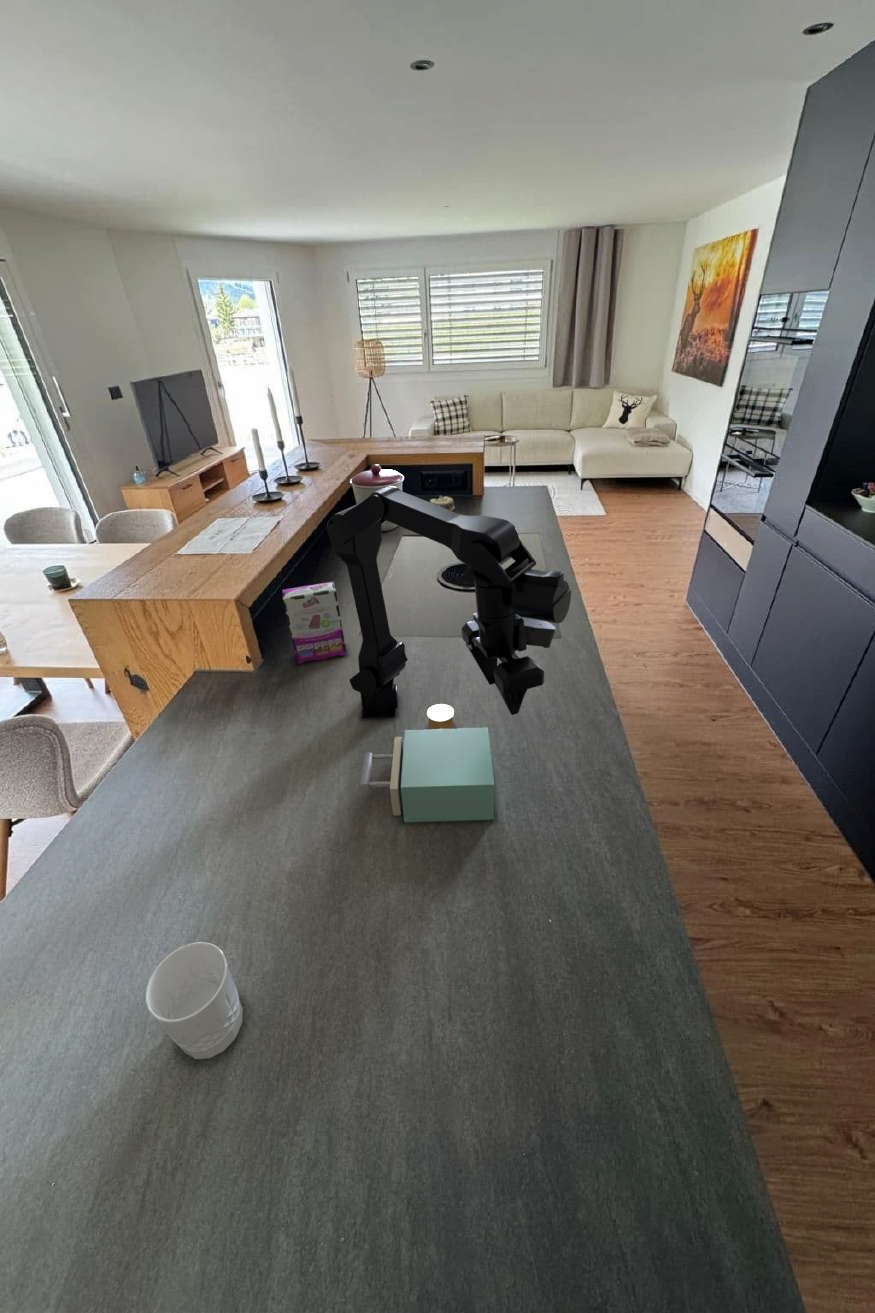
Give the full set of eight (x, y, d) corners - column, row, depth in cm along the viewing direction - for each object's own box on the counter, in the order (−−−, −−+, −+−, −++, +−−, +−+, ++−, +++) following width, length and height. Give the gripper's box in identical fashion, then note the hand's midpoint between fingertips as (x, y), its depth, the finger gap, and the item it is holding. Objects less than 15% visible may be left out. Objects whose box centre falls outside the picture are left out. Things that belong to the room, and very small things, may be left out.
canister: (417, 522, 195) (413, 460, 184) (387, 539, 183) (381, 474, 171) (376, 514, 203) (370, 455, 192) (345, 530, 191) (336, 468, 179)
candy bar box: (344, 644, 129) (334, 580, 120) (347, 655, 125) (337, 590, 116) (295, 653, 126) (281, 588, 117) (297, 665, 122) (282, 598, 113)
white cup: (256, 986, 65) (235, 939, 60) (238, 1064, 59) (213, 1019, 53) (189, 990, 65) (162, 944, 60) (163, 1069, 59) (131, 1024, 53)
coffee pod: (427, 738, 100) (426, 721, 98) (428, 721, 105) (427, 704, 102) (454, 737, 100) (454, 720, 98) (454, 720, 104) (453, 703, 102)
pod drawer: (361, 816, 85) (356, 790, 82) (368, 763, 94) (364, 738, 91) (474, 813, 85) (474, 786, 81) (470, 760, 94) (470, 734, 91)
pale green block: (404, 822, 85) (400, 787, 81) (408, 763, 95) (404, 730, 91) (493, 819, 84) (494, 784, 80) (487, 761, 95) (487, 727, 91)
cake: (460, 511, 205) (460, 496, 202) (437, 517, 201) (437, 502, 197) (445, 502, 212) (445, 488, 208) (423, 508, 207) (422, 494, 204)
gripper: (579, 623, 74) (578, 716, 82) (521, 576, 90) (525, 658, 97) (501, 642, 72) (507, 737, 80) (456, 591, 88) (465, 674, 95)
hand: (502, 698), depth 88 cm, fingers open, 9 cm apart
